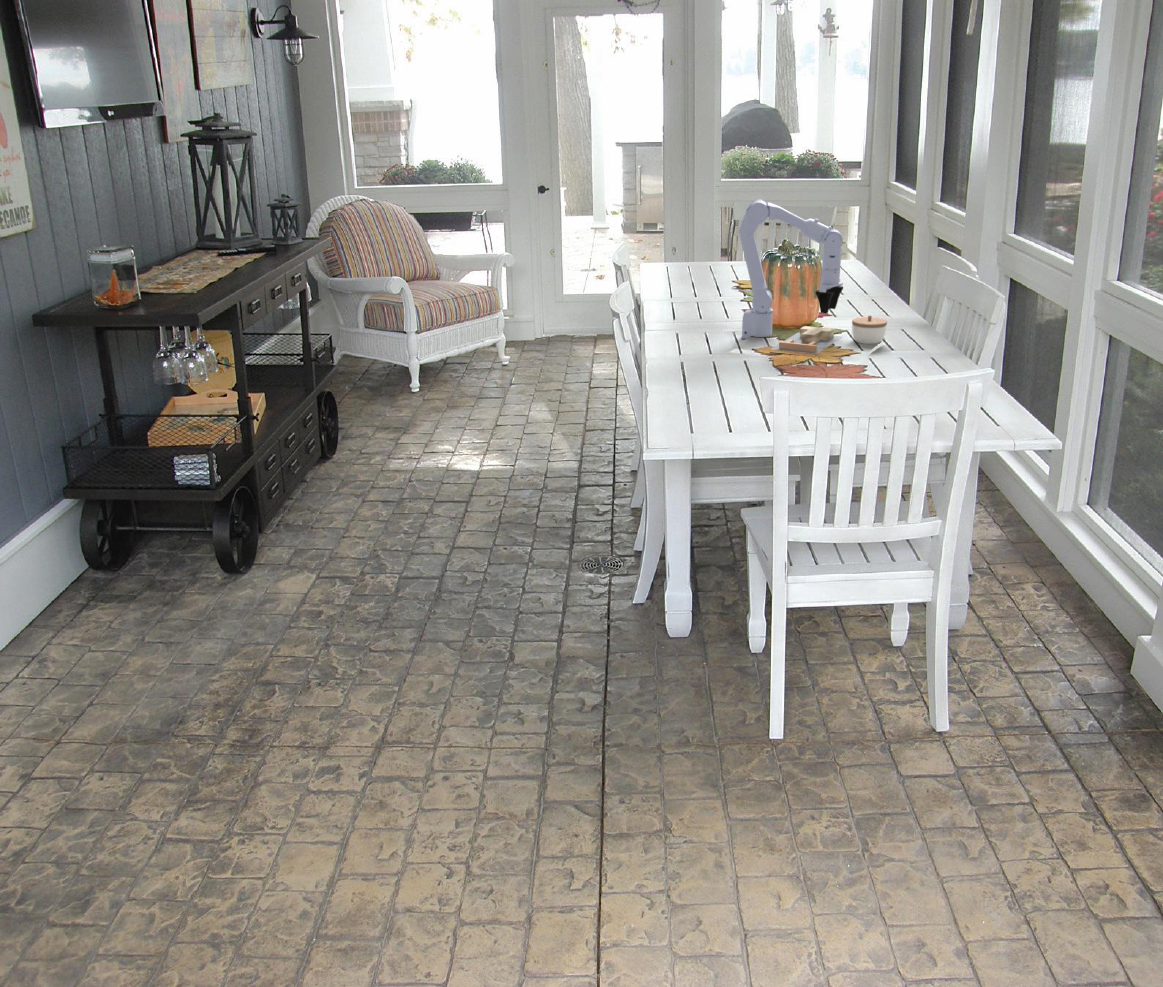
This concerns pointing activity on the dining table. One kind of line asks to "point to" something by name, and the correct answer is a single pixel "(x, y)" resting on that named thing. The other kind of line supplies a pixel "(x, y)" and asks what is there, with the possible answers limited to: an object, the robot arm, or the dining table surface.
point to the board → (803, 345)
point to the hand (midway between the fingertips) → (828, 310)
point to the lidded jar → (868, 329)
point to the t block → (815, 334)
